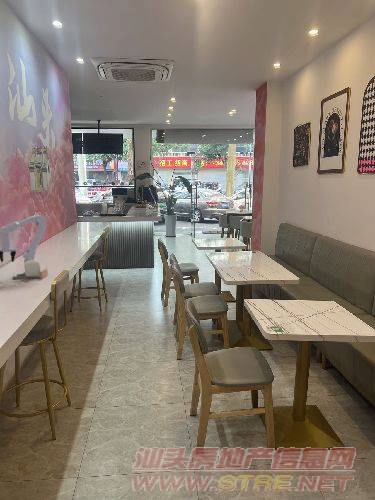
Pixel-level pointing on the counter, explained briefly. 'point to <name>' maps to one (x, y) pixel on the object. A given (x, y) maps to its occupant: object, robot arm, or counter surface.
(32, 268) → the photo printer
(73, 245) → the counter surface
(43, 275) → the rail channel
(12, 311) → the counter surface
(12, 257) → the robot arm
